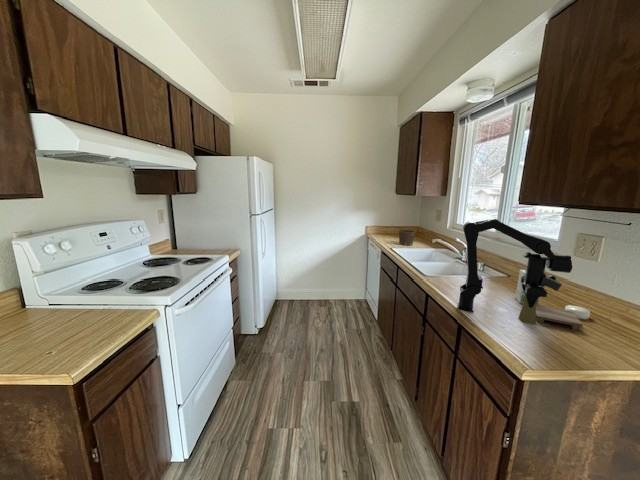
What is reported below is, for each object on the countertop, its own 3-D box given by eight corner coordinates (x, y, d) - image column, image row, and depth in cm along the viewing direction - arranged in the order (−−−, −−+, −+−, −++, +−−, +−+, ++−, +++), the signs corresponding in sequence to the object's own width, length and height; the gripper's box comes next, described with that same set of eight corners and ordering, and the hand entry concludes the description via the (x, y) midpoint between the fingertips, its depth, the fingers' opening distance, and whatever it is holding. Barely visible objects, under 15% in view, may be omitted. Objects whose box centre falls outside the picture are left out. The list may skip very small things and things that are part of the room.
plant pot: (412, 245, 269) (413, 230, 267) (416, 248, 254) (417, 232, 251) (396, 245, 271) (397, 229, 269) (398, 248, 256) (399, 231, 253)
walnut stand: (581, 331, 103) (582, 324, 102) (536, 322, 110) (537, 315, 109) (570, 317, 115) (572, 311, 114) (530, 310, 122) (531, 304, 121)
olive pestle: (530, 325, 108) (535, 299, 106) (514, 318, 113) (518, 294, 111) (539, 322, 110) (543, 297, 108) (523, 316, 115) (527, 292, 113)
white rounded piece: (591, 321, 112) (593, 314, 112) (567, 316, 116) (568, 310, 116) (585, 314, 119) (586, 307, 119) (562, 309, 123) (563, 303, 123)
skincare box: (518, 303, 130) (523, 272, 127) (514, 298, 136) (518, 269, 133) (539, 305, 127) (545, 274, 124) (534, 300, 133) (539, 271, 130)
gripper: (568, 278, 96) (560, 318, 98) (555, 266, 111) (549, 301, 114) (529, 273, 101) (523, 311, 104) (522, 263, 117) (517, 296, 120)
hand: (529, 305), depth 110 cm, fingers closed on olive pestle, 5 cm apart
